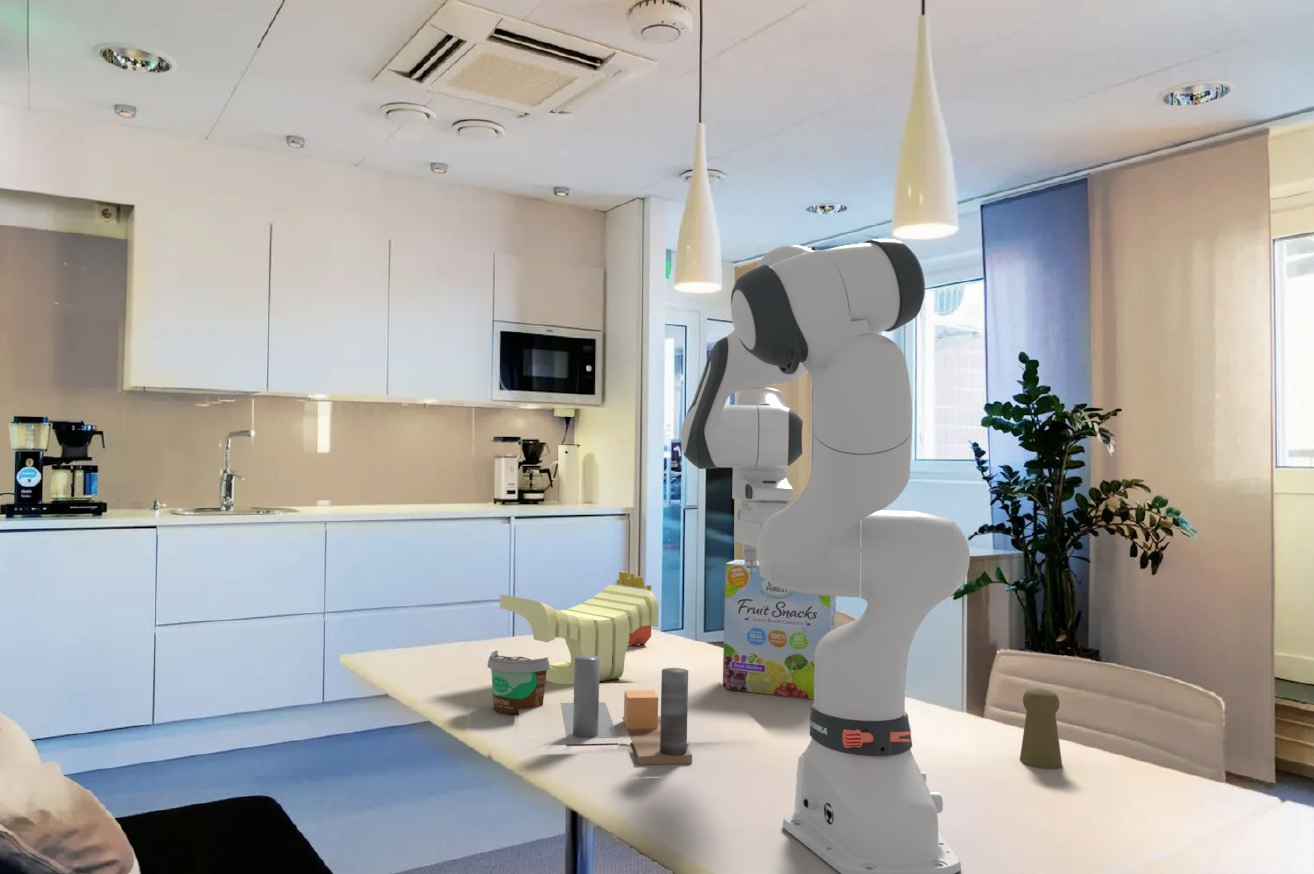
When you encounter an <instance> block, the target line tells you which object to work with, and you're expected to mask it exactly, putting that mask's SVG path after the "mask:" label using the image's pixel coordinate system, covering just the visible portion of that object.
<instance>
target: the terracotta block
mask: <svg viewBox="0 0 1314 874" xmlns="http://www.w3.org/2000/svg"><path fill="white" fill-rule="evenodd" d="M623 696H624V698H623V699H624V702H623V717H624V720H623V722H625V723H624V724H625V727H626V730H627V729H649V728H658V716H659V696H658V694H657V693H656V691H655V690H653V689H651V690H646V689H645V690H643V689H642V690H639V689H638V690H637V689H636V690H624V695H623Z"/></svg>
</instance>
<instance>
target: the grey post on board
mask: <svg viewBox="0 0 1314 874" xmlns="http://www.w3.org/2000/svg"><path fill="white" fill-rule="evenodd" d="M660 687H661V691H660V692H661V695H660V697H661V698H660V715H658V728H649V729H627V728H626V730H627V732H628V734H629V737H630V739H631V742H629V745H630V747H631V749H632V752H633V755H634V757H635V760H636V762H637V764H638V765H639V766H641V765H674V764H675V765H682V764H683V765H684V764H686V765H687V764H693V753H691V750H690V749H689V747H688V746H687V745H688V703H689V702H688V701H689V700H688V697H689V696H688V695H689V694H688V693H689V670H688V669H686V668H682V667H681V668H680V667H667V668H663V669H662V670H661V685H660ZM621 718H622V720H623V722H624V716H621ZM624 724H625V722H624ZM638 765H637V766H638Z"/></svg>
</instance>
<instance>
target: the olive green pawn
mask: <svg viewBox="0 0 1314 874" xmlns="http://www.w3.org/2000/svg"><path fill="white" fill-rule="evenodd" d="M1022 703H1023V707H1024V708H1025V710H1026V714H1025V720H1024V728H1023V735H1022V741H1021V749H1020V756H1019V762H1021V763H1022V764H1024V765H1027V766H1030V767H1034V768H1038V769H1046V770H1048V769H1050V770H1051V769H1054V770H1055V769H1060V768H1062V767H1063V760H1062V753H1061V746H1060V739H1059V731H1058V723H1057V715H1056V713H1057V712H1058V711H1059V708H1060V699H1059V696H1058V695H1057V693H1055V692H1054V691H1051V690H1049V689H1044V688H1030V689H1028V690H1025V692H1024V693H1023V696H1022Z"/></svg>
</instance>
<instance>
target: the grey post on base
mask: <svg viewBox="0 0 1314 874" xmlns="http://www.w3.org/2000/svg"><path fill="white" fill-rule="evenodd" d="M599 673H600V658H599V657H597V656H577V657H575V669H574V684H573V702H561V703H560V704H561V711H562V717H563V723H564V729H565V735H566V739H569V740H570V739H607V738H613V739H614V738H615V739H616V738H617V739H618V738H619V736H618V733H617V731H616V728H615V725H614V723H613V719H612V717H611V714H610V712H609V708H608V705H607V704H606V701H605V702H603V701H602V702H600V681H599ZM618 745H619V744H618V742H614V743H612V742H610V743H609V742H608V743H569V744H567V743H566V747H577V746H578V747H581V746H582V747H584V746H589V747H590V746H618Z"/></svg>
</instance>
